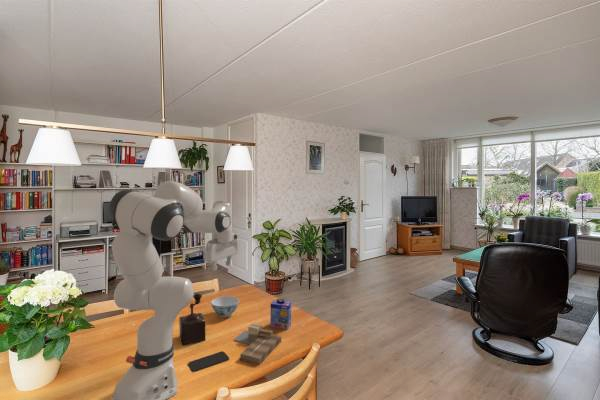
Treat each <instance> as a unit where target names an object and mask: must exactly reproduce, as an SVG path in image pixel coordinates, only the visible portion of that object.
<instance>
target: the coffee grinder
mask: <svg viewBox="0 0 600 400" xmlns="http://www.w3.org/2000/svg"><path fill="white" fill-rule="evenodd" d="M202 296H203V295H202V293H200V292H198V293H194V295H193V299H194V301H195V302H194V303H193V302H190V303H189V304H190V305H189V309H190V314H187V315H183V316H182V315H181V316H179V320H178V321H179V323H178V324H179V340H180V344H181V346H187V345H189V346H190V345H193V344H197V343H202V342H206V341H207V340H206V335H207V334H206V319H205V318H204V316H203V313H202V312H199V313H196V312H194V306H196V305H199V304H201V302H202V301H201V299H202Z"/></svg>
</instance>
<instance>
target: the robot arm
mask: <svg viewBox="0 0 600 400" xmlns="http://www.w3.org/2000/svg"><path fill="white" fill-rule="evenodd" d="M212 204H213V205H212V208H211V210H210V209H203V207H204V206H203V205H204V203H203V200H202V197H201V196H200V195H199V194H198V193H197V192H196V191H194V189H192V188H191V187H189V186H188V185H186V184H184V183H180V182H178V181H175V180H166V181H163V182H161V183H160V184H158V185H157V187H156V189H155V191H154V195H150V194H148V193H144V192H141V191H140V190H136V189H122V190H119V191H118V192H116V193H115V194H114V195H113V197H112V198H111V200H110V203H109V207H108V209H109V217H110V218H111V225H112V227H113V228H115V230H117V231H118V230H119V233H118V234H117V235H116V236H115V237H114V238H113V240H112V243H111V252H112V256H113V259H114V262H115V264H116V266H117V268H118V270H119V272H120V273H121V275H122V277H123V279H122V280H120V282H119V283H118V284H117V285H116V286H115V288H114V291H113V301H114V303H115V305H116V307H118V308H121V309H125V310H131V311H146V310H147V311H151V310H152V311H154V315H153V316H150V317H149V318H147V319H145V320H144V321H143V322H141V324H140V325H139V327H138V328H137V334H136V336H137V337H136V338H137V342H136V343H137V345H136V346H137V347H136V348H137V349H136V350H135V355H134V356H132V355H128V356H126V359H125V362H126V363H128V364H131V366H130V367H128V368H129V369H128V370H127V371H126V372H125V373H124V374H123V376H122V377H121V379H120V380H119V381H118V383H117V384H116V385H115V387H114V393H113V397H112V398H110V399H109V400H166V399H167V400H169V399H170V398H172V397H173V396H175V395H176V394H177V393H178V387H177V386H178V378H177V376H176V375H177V374H176V371H175V365H174V354H175V353H174V352H175V346H174V345H175V344H174V342H173V335H174V334H173V333H174V324H175V320H176V319H177V316H178V315H179V313H180V312H181V311H182V310H184V309H185V308H186V307H188V305H189V304H191V303H192V300H193V299H194V295H195V288H194V285H193V282H192V281H191V280H190V279H189V278H187V277H181V276H172V275H171V276H163V272H164V266H163V265H164V264H162V263H163V262H162V260H161V258H160V254H159V253H158V251H157V249H156V246H155V244H153V243H154V242H153V238H154V239H156V240H159V241H166V242H167V241H171V240H173V239H175V238H176V237H177V236H178V235H179V234H180V233H181V232H182V230H183V229H184V230H185V231H186V233H189V234H190V233H191V234H194V233H195V234H197V233H198V234H199V233H202V234H203V233H204V234H211V239H209V240H208V241H207V243H206V244H205V245H206V246H205V249H204V255H203V256H204V261H205V262H206V263H210V265H211V267H212V271H213V272H214V271H215V272H216V271H219V266H218V265H217V261H219V260H222V259H225V258H227V259H226V261H225V266H226V267H227V266H231V263H232V262H231V261H232V259H233V256H234V255H237V254H238V250H239V242H238V240H239V235H238V234H236V233H234V232H233V228H232V223H233V212H232V205H231V203H229V202H227V201H214V202H213V203H212ZM168 398H169V399H168Z"/></svg>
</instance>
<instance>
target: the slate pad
mask: <svg viewBox="0 0 600 400" xmlns="http://www.w3.org/2000/svg"><path fill="white" fill-rule="evenodd" d="M232 341H234V342H238V343H242V344H246V345H249V346H250V345H251V344H252V343H253V342H254V341H253V340H249V339H248V330H244V331H242V332H241V333H240V334H239V335H238V336H236V337H235V338H234V339H233V340H232Z"/></svg>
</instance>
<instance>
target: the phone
mask: <svg viewBox="0 0 600 400" xmlns="http://www.w3.org/2000/svg"><path fill="white" fill-rule="evenodd" d="M228 361H230V357H229V356H228V354H226V352H225V351H218V352H216V353H212V354H209V355H206V356H203V357H200V358H197V359H194V360H191V361H188V363H187V365H188V367H189V368H190V371H191V372H193V373H195V372H198V371H201V370H205V369H208V368H210V367H213V366H215V365H219V364H222V363H225V362H228Z"/></svg>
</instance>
